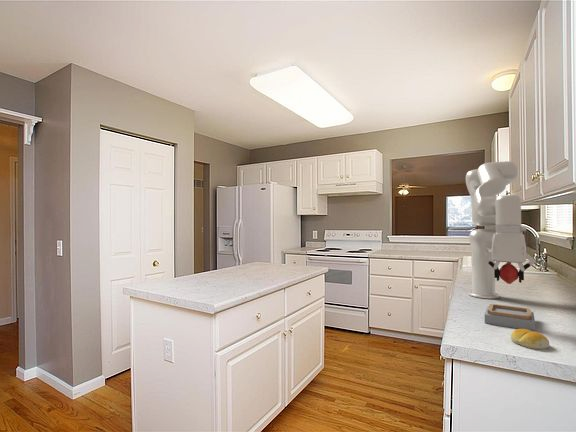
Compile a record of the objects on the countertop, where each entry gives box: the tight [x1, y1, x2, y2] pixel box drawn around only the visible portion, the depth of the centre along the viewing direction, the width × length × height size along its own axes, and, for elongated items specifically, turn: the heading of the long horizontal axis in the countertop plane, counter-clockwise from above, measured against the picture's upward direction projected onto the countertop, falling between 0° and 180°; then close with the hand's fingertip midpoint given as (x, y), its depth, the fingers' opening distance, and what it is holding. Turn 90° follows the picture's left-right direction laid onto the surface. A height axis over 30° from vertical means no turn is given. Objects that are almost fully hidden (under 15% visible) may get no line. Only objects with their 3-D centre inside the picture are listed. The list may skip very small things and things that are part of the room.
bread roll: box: [510, 328, 550, 350], centre depth 95 cm, size 8×9×4 cm
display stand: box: [484, 303, 536, 332], centre depth 115 cm, size 14×14×4 cm
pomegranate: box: [499, 262, 519, 285], centre depth 115 cm, size 6×6×8 cm
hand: (508, 280), depth 115 cm, fingers closed on pomegranate, 5 cm apart
